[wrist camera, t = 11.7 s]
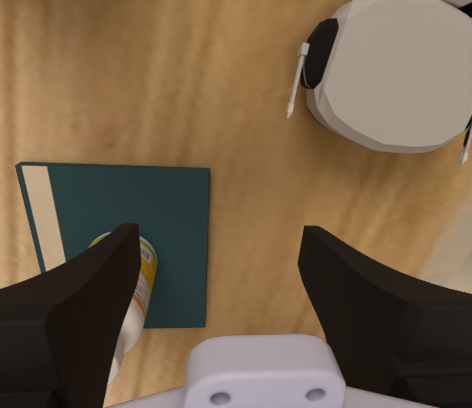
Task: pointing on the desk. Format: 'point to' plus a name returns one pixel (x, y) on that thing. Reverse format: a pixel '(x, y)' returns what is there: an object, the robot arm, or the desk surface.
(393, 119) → the robot toy
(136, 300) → the supplement bottle
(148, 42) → the desk surface
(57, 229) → the teal notebook
